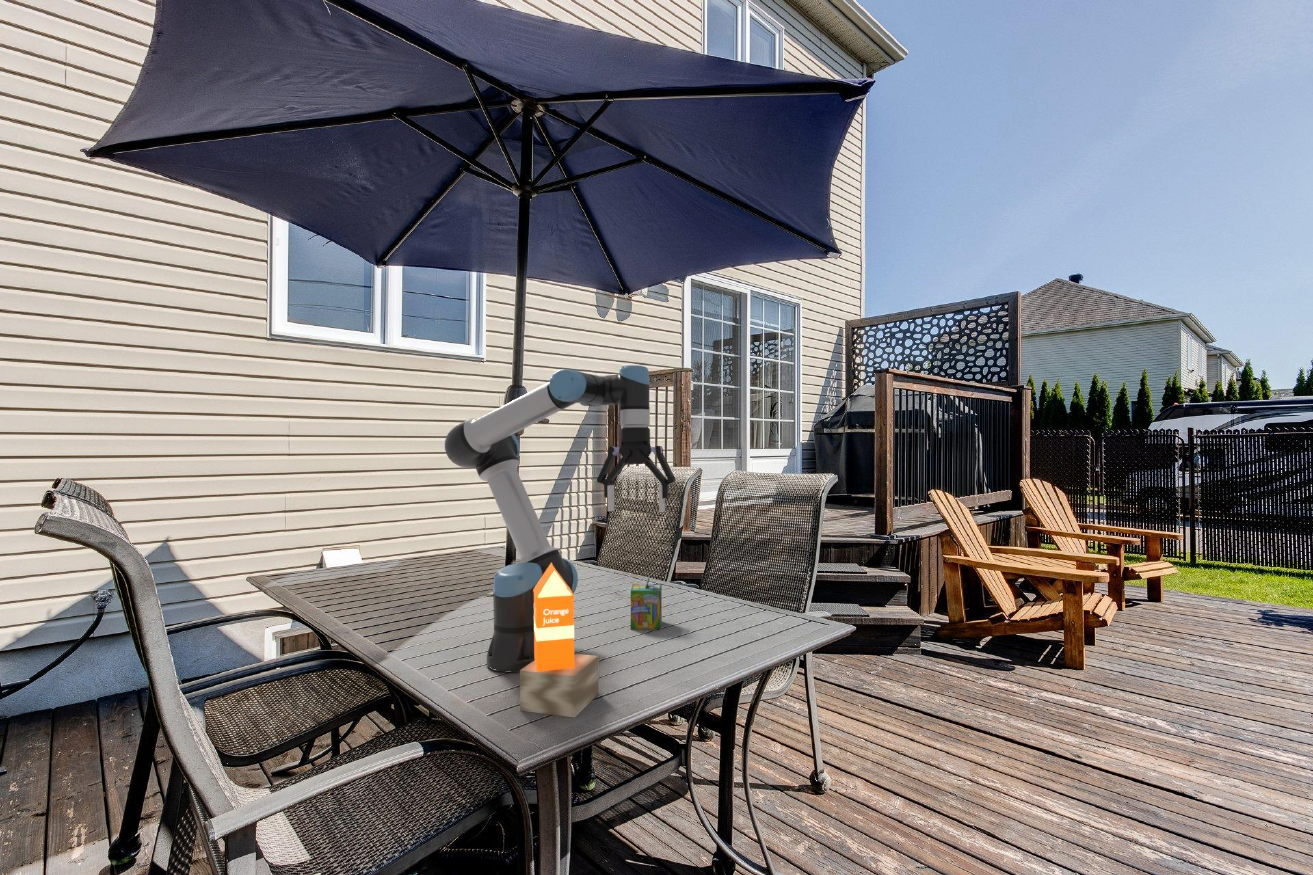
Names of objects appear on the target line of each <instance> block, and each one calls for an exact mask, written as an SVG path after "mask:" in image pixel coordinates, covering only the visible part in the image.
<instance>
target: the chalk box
mask: <svg viewBox="0 0 1313 875" xmlns="http://www.w3.org/2000/svg"><path fill="white" fill-rule="evenodd" d="M650 576H651V574H649V575H648V576H647V581H646V583H632V585H631V589H630V630H662V622H663V621H662V620H663V617H662V615H663V613H662V601H663V600H662V596H663V595H662V594H663V593H662V591H663V589H662V588H663V587H662V586H663V585H662V584H661V583H649V581H650V578H651V577H650Z"/></svg>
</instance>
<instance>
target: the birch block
mask: <svg viewBox="0 0 1313 875" xmlns="http://www.w3.org/2000/svg"><path fill="white" fill-rule="evenodd" d="M599 677H600V676H599V655H592V654H581V653H574V668H567V669H557V670H547V671H538V672H537V670H536V664H535V660H534V661H533V662H531V663H530V664H528V665H527V666H525V667H524V668H522V669H521V670H520V672H519V711H520V712H521V711H522V712H529V713H537V714H545V715H553V716H558V717H568V718H576V717H577V716H578V715H579V714H580V713H581V712H582V711H583V710H584V709H585V708H586V707H587V706H588V705H589V704H590V703H591V702H592V701H593V700H594V699H595V698H596V697H597V696H598V695H599V694H600V693H599V692H600V690H599V687H600V686H599V681H600V680H599Z"/></svg>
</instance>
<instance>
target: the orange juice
mask: <svg viewBox="0 0 1313 875" xmlns="http://www.w3.org/2000/svg"><path fill="white" fill-rule="evenodd" d="M533 591H534V658H535V664H536V670H537V672H538V671H547V670H557V669H567V668H574V654H575V620H574V619H575V613H574V612H575V608H574V605H575V603H574V602H575V599H574V597H575V596H574V594H573V593H572V592H571V590H570V588H569V587H568V586H567V584H566V583H565V581H564V580H563V579H562V577H561V576H560V575H559V573H558V572H557V571H556V569H555V568H554V567H553V565H552V563H551V564H550V565H549V567H548V568H547V570H546V571H545V573H544V574H543V576H542V577H541V579H540V580H539V582H538V583H537V585H536V586H535V588H534V589H533Z"/></svg>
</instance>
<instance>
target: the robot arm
mask: <svg viewBox="0 0 1313 875" xmlns="http://www.w3.org/2000/svg"><path fill="white" fill-rule="evenodd" d="M649 374H650V372H649V369H648V367H646V366H644V365H640V364H639V365H637V364H636V365H635V364H631V365H630V364H629V365H623V366H621V367H620V368H619V373H618V374H615V375H607V376H605V375H604V376H600V375H596V374H591V373H586V372H582V371H578V370H576V369H573V368H572V369H566V368H562V369H559V370H557V371H555V372H554V373H553V375H552V376H551V378H550V379H549V381H548V382H546V383H545V384H543V385H540V386H539V387H537V388H535V389H533V390H531V391H529V392H527V393H525V394H524V395H521V396H519V397H517V398H516V399H513V400H512V401H509V402H508V403H506V404H504V405H502V406H500V407H498V408H496V409H494V410H493V411H491V412H488V413H487V414H485V415H482V416H481V417H479V418H476V417H471V418H468V419H467V420H465V421H463V422H461V423H459V424H457V425H456V426H454V427H453V428H452V429H451V430H450V431H449V432H448V433H447V435H446V437H445V439H444V451H445V454H446V456H447V457H448V459H449V460H450V462H452V463H453V464H455V465H456V466H459V467H461V468H467V469H469V468H473V469H474V468H475V471H476V472H477V474H478V477H479V479H480V480H482V481H485V482H487V484H488V486H489V488H490V491H491V493H492V495H493V498H494V500H495V502H496V504H497V507H498V509H499V511H500V513H501V515H502V516H501V517H502V518H503V520H504V523H505V526H506V528H507V530H508V533H509V534H510V537H511V539H512V542H513V544H514V546H515V549H516V551H517V553H518V556H519V558H520V561H519V562H517V563H515V564H513V563H512V564H508V565H505V566H503V567H501V568H499V569H498V570H497V571H496V572H495V574H494V577H493V586H492V592H493V596H492V597H493V634H492V637H491V640H490V644H489V647H488V650H487V654H486V666H487V665H488V667H491V668H492V669H496V670H498V671H497V672H500V671H520V670H521V669H522V668H524V667H525V666H527V665H528V664H530V663H531V662H533V661H534V660H535V658H534V591H533V589H534V588H535V586H536V585H537V583H538V582H539V580H540V579H541V577H542V576H543V574H544V573H545V571H546V570H547V568H548V567H549V565H550V564H551V563H552V565H553V567H554V568H555V569H556V571H557V572H558V573H559V575H560V576H561V577H562V579H563V580H564V581H565V583H566V584H567V586H568V587H569V588H570V590H571V592H572V593H573V595H574V594H575V593H576V590H577V586H578V583H579V582H578V581H579V576H578V571H577V569H576V567H575V565H574V564H573V563H572V562H571V561H570V560H568V559H566V558H563V557H562V555H561V552H560V551H559V550H560V549H559V548H557V547H554V546H552V545H551V543H550V542H549V539H548V538H547V534H546V533H545V531H544V529H543V526H542V524H541V522H540V520H539V517H538V515H537V512H536V510H535V508H534V506H533V504H532V501H531V499H530V497H529V494H528V492H527V490H526V488H525V486H524V484H523V482H522V479H521V477H520V475H519V472H518V470H517V469H518V466H519V465H520V461H519V459H518V458H519V456H520V453H519V451H520V443H519V439H518V438H517V436H516V435H515V434H516V433H518V432H520V431H523V430H525V429H526V428H529V427H530V426H533V425H534V424H536V423H539V422H540V421H543V420H545V419H546V418H548V417H550V416H553V415H554V414H556V413H558V412H561V411H563V410H565V409H566V408H569V407H571V406H573V405H576V404H580V405H581V406H584V407H593V408H595V407H599V406H613V405H617V406H618V405H619V411H620V413H619V414H620V415H619V424H620V427H622V428H620V434H619V435H620V438H619V439H620V446H619V447H617V446H609V447H608V451H607V457H606V459H605V461H604V463H603V465H602V468H601V469H600V472H599V474H598V477H597V478H596V483H597V484H598V483H599V484H602V485H603V487H604V488H603V490H604V491H603V495H604V496H603V497H604V499H607V512H613V511H615V485H614V484H612V483H613V482H614V481H615V479H616V478H617V477H618V476H619V475H620V474H621V471H622V470H623V469H624V468H625V467H626V466H627V465H635V464H637V465H643V464H644V465H645V466H646V467H647V468H648V469H649V471H650V472H651V473H652V474H653V475H654V476H655V478H656V479H657V481H659V483H660V484H661V485H658V513H664V512H666V499H668V498H669V486H670V484H673V483H675V482H676V477H675V475H674V473H673V470H672V469H671V467H670V465H669V463H668V461H667V459H666V456H665V455H664V448H663V446H662V445H656V446H651V429H650V427H649V426H650V425H651V424H650V423H651V420H650V419H651V414H650V412H651V410H650V409H651V408H650V385H651V383H650V375H649ZM651 453H653V454H654V455H655V456H656V459H657V460H658V463H659V465H660V467H661V468H662V471H663V473H664V474H663V473H662V472H661V470H660V469H659V468H658V467H657V466H656V464H655V463H654V461H653V460H652V459H651V458H650V455H651ZM618 454H620V456H621V458H620V459H619V461H618V462H617V464H616V466H614V468H613V469H612V470H611V468H612V466H613V463H614V462H615V459H616V456H618ZM610 470H611V472H610ZM488 667H487V668H488ZM492 669H491V670H492Z"/></svg>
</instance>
